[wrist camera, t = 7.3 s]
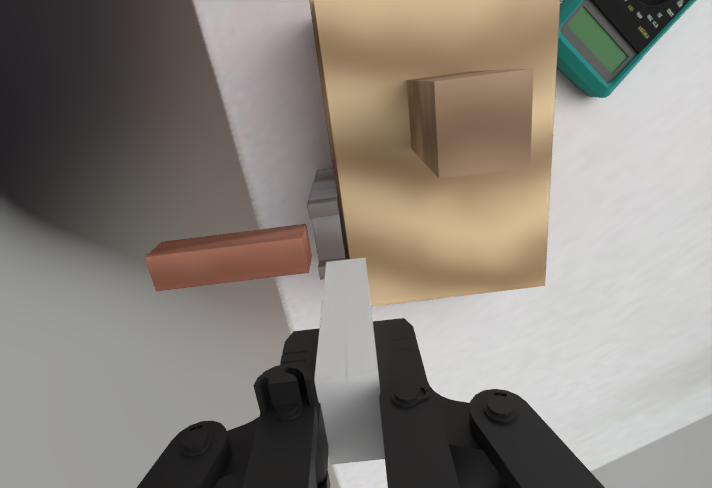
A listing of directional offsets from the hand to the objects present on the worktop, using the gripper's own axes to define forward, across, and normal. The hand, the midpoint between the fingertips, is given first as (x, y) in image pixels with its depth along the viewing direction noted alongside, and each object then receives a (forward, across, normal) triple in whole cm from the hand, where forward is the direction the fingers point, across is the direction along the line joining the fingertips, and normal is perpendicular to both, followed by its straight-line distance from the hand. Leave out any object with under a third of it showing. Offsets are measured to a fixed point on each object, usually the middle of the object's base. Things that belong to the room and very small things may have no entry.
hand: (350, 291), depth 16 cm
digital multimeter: (+22, +23, +11) cm, 33 cm away
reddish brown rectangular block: (+11, -8, -2) cm, 14 cm away
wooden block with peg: (+13, +6, +2) cm, 15 cm away
